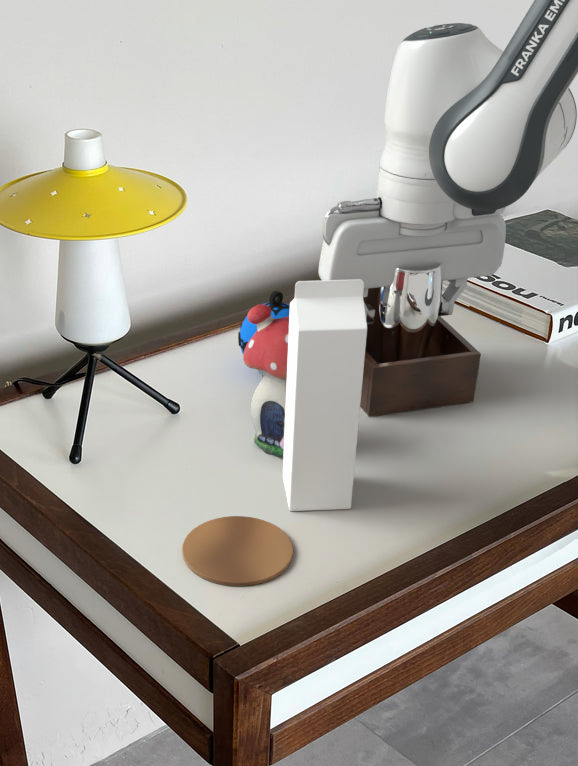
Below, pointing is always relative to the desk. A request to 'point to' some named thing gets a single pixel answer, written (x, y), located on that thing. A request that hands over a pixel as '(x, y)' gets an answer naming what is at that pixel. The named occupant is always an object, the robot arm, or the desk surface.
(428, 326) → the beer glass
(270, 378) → the decorative ornament
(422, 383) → the cubby
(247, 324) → the ornament
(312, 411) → the milk
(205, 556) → the coaster
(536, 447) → the desk surface
